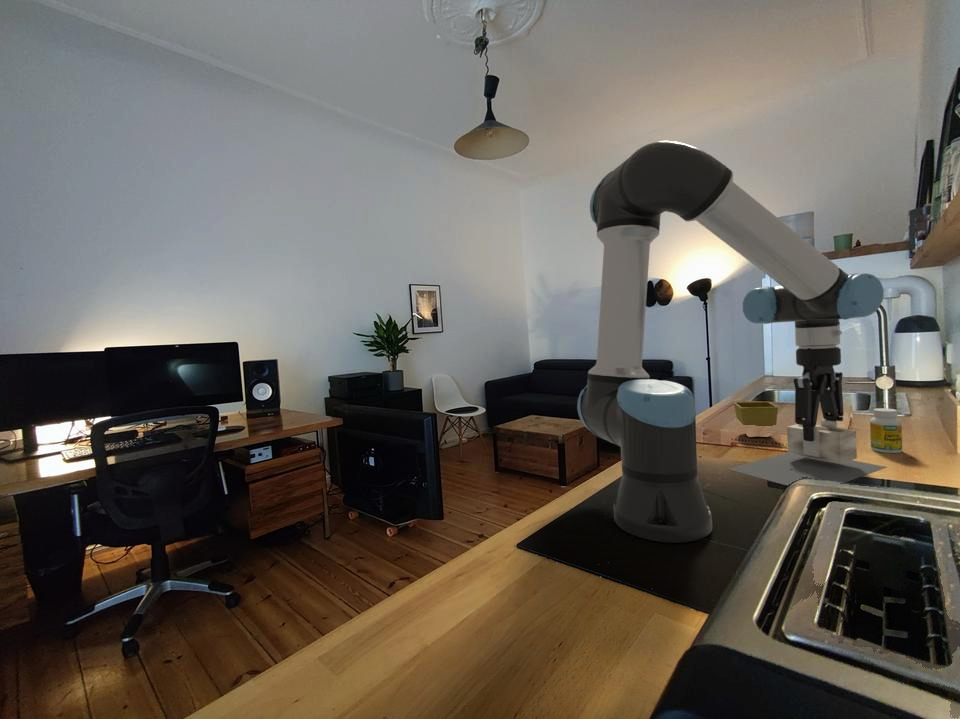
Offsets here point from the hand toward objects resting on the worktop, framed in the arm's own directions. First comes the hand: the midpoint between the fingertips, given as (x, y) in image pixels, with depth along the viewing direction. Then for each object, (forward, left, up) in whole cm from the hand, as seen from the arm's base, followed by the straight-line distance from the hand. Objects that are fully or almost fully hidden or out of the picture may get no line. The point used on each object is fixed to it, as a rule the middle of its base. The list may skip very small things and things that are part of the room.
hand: (820, 452), depth 92 cm
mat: (-6, 0, -3) cm, 7 cm away
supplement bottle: (+21, -2, -3) cm, 21 cm away
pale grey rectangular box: (0, 0, -1) cm, 1 cm away
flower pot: (+13, +23, -3) cm, 26 cm away
